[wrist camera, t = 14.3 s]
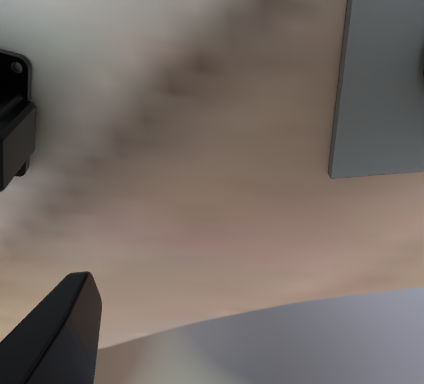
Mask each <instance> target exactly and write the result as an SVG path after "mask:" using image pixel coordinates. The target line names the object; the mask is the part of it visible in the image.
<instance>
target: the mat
mask: <svg viewBox="0 0 424 384" xmlns="http://www.w3.org/2000/svg"><path fill="white" fill-rule="evenodd" d="M423 70H424V0H348V2H347V11H346V20H345V29H344V37H343V46H342V55H341V63H340V72H339V81H338V90H337V98H336V107H335V116H334V125H333V133H332V142H331V151H330V160H329V168H328V174H329V176H330V178H331V179H334V178H346V177H359V176H372V175H384V174H397V173H409V172H422V171H424V76H423Z"/></svg>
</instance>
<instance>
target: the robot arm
mask: <svg viewBox="0 0 424 384" xmlns="http://www.w3.org/2000/svg"><path fill="white" fill-rule="evenodd" d="M15 62H18V63H20V64H21V66H22V68H23V70H22V71H20V70H18V69H17V68H16V67H15V65H14V63H15ZM30 99H31V64H30V62H29V60H28V59H27V58H26V57H25V56H22V55H20V54H16V53H12V52H9V51H5V50H1V49H0V192H1V191H3V190H4V189H5V188H6V187H7V185H8V184H9V183H10V181H11V180H12V179H13V177H14V176H19V177H20V176H23V175H24V174H25V173H26V172H27V170H28V168H29V156H30V155H31V154H32V152H33V151H34V149H35V129H36V106H35V104H34V103H33V102H32V101H30ZM20 168H21V169H20ZM101 312H102V301H101V297H100V294H99V292H98V289H97V286H96V283H95V281H94V278H93V276H92V274H91V273H90V272H76V273H70V274H68V275H67V276H66V277H65V278H64V279H63V280H62V281H61V282H60V283H59V284H58V285H57V286H56V287H55V288H54V289H53V290H52V291H51V292H50V293H49V294H48V295H47V296H46V297H45V298H44V299H43V300H42V301H41V302H40V303H39V304H38V305H37V306H36V307H35V308H34V309H33V310H32V311H31V312H30V313H29V314H28V315H27V316H26V317H25V318H24V319H23V320H22V321H21V322H20V323H19V324H18V325H17V326H16V327H15V328H14V329H13V330H12V331H11V332H10V333H9V334H8V335H7V336H6V337H5V338H4V339H3V340H2V341H1V342H0V384H93V382H94V375H95V366H96V358H97V349H98V340H99V331H100V321H101Z"/></svg>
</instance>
